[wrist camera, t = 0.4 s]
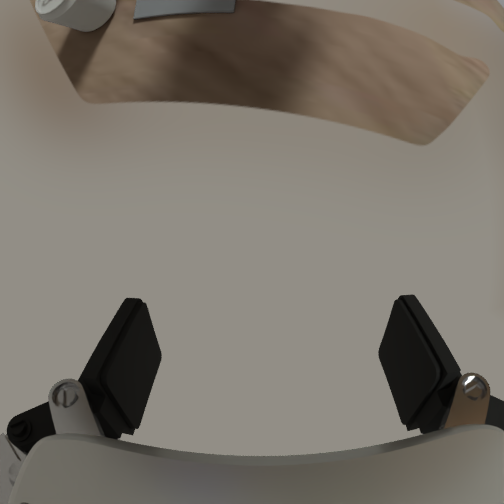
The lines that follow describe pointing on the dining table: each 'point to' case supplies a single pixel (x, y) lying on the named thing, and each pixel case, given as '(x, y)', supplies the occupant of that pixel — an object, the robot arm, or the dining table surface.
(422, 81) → the dining table surface
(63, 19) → the can
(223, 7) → the mat
